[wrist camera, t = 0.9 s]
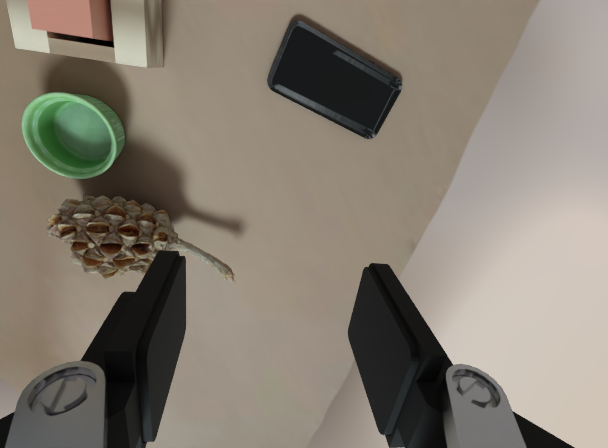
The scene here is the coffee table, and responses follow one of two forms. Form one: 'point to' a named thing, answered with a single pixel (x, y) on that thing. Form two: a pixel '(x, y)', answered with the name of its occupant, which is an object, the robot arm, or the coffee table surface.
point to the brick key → (73, 17)
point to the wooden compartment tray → (127, 44)
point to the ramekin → (73, 134)
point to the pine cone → (120, 236)
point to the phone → (333, 81)
